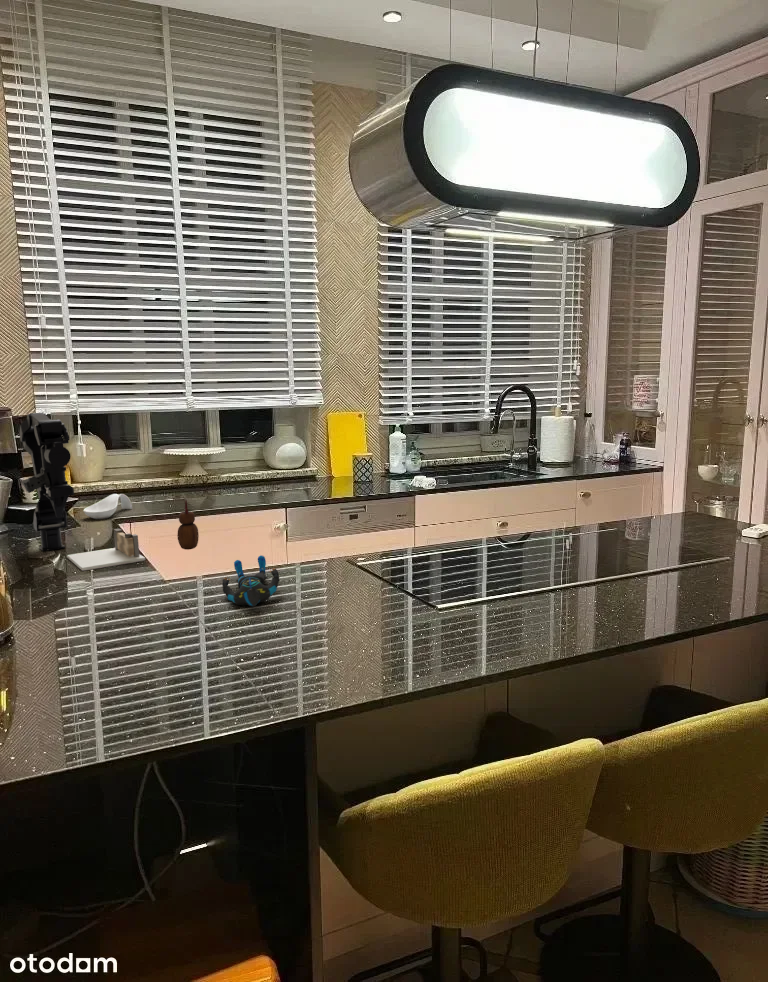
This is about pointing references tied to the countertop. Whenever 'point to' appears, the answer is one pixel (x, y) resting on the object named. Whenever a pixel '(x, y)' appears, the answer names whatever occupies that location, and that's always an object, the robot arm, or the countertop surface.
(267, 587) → the figurine
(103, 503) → the spoon rest
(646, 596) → the countertop surface
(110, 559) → the white flat posted base
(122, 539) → the gate
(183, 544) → the wooden figurine
